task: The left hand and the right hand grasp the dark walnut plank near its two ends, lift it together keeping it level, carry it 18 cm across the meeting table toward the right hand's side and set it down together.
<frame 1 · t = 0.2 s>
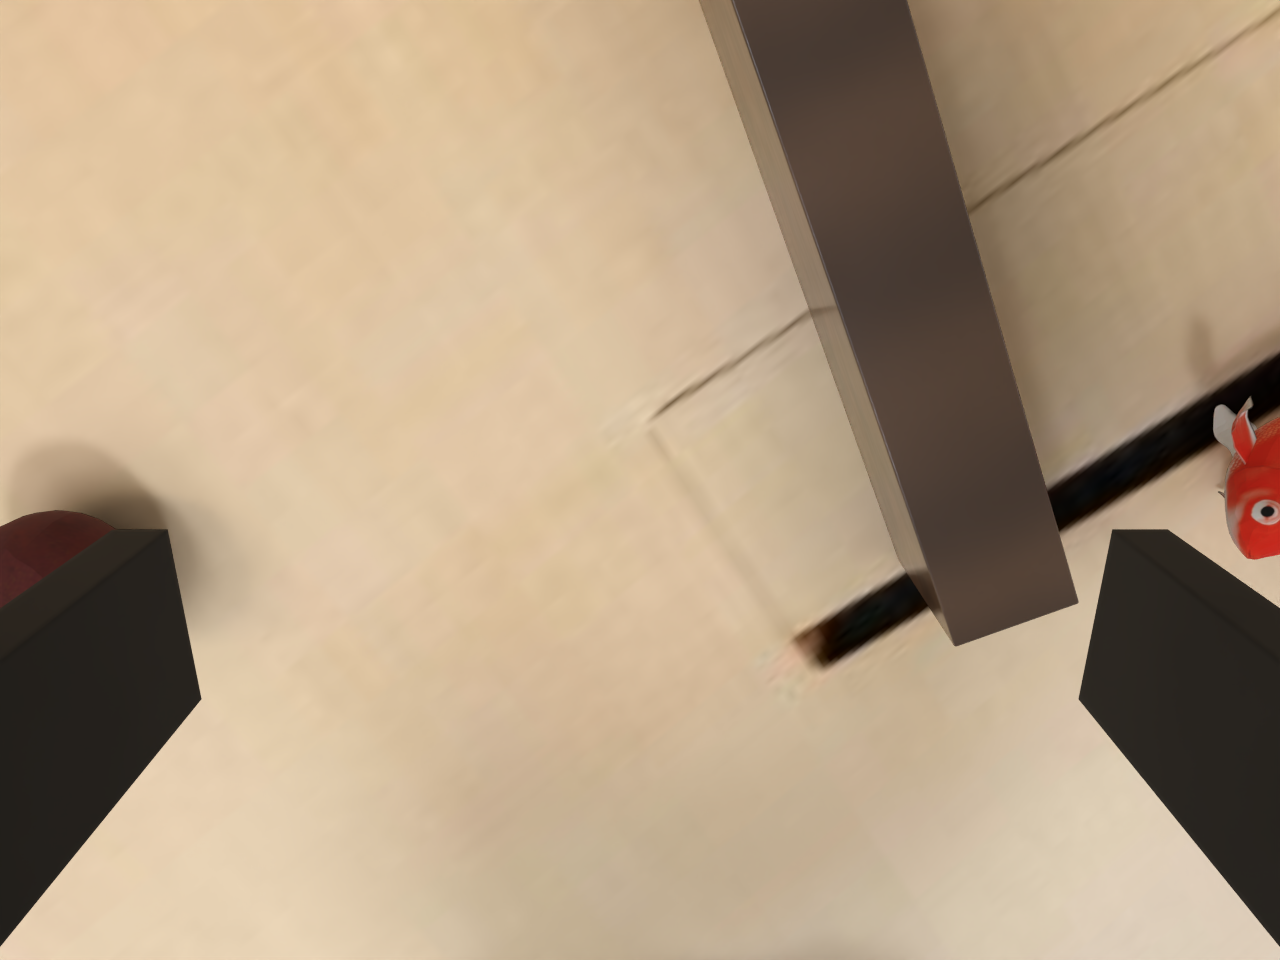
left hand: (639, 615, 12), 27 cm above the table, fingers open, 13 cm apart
plank: (849, 244, 37), on the table
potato: (106, 561, 42), on the table
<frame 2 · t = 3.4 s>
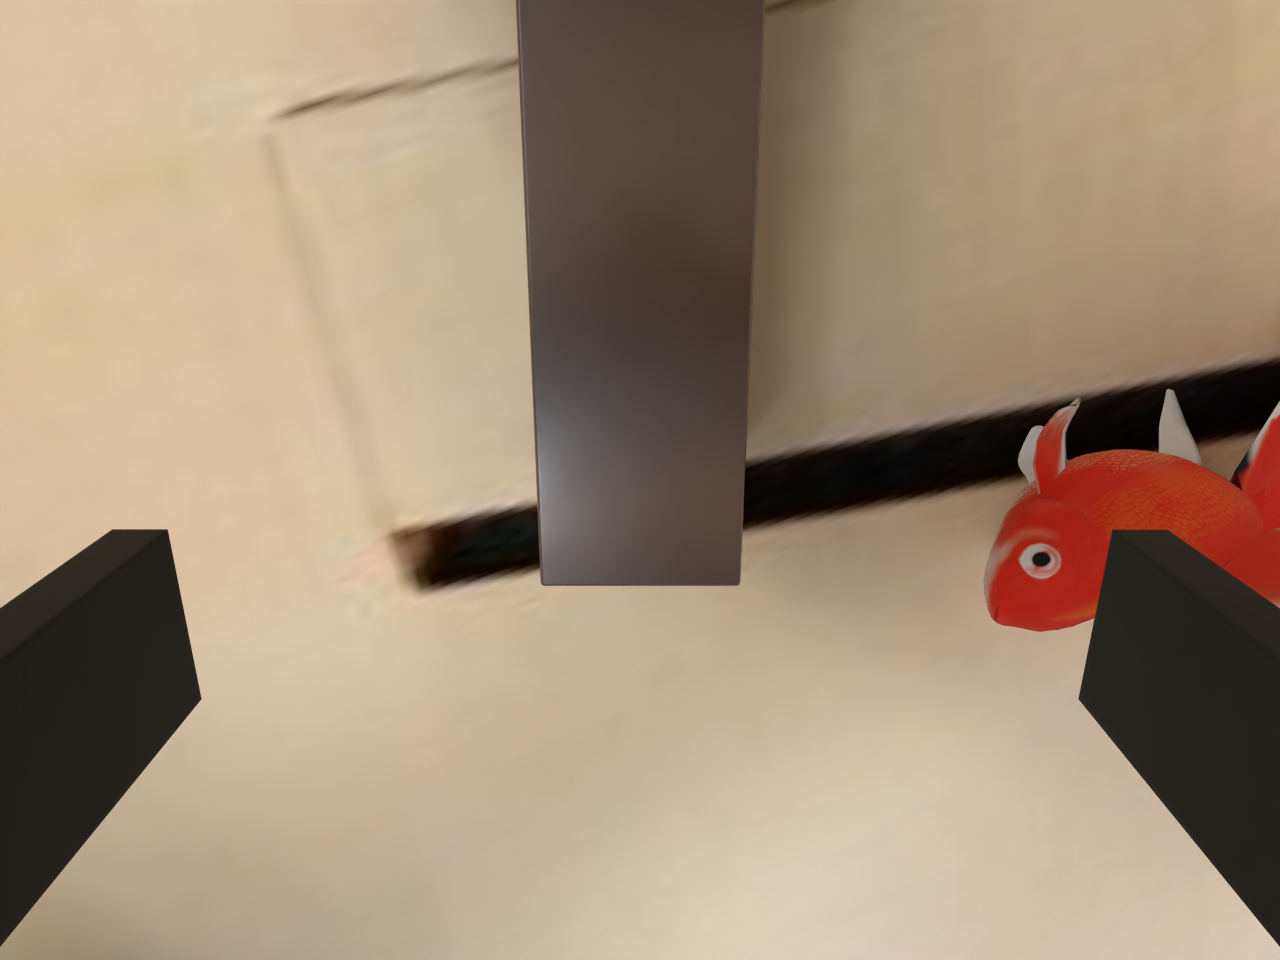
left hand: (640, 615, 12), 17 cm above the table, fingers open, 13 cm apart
fish: (1153, 432, 29), on the table
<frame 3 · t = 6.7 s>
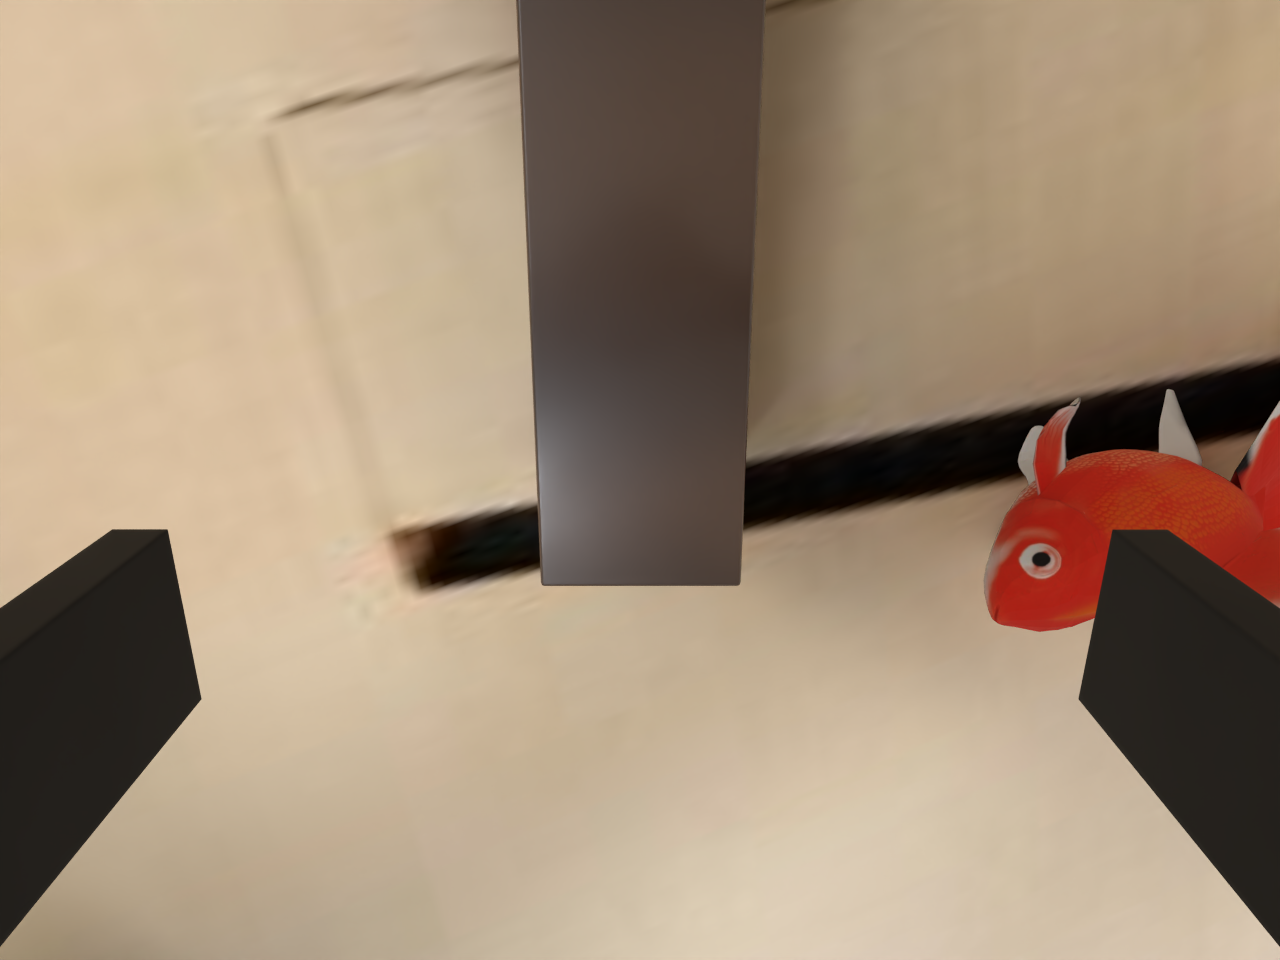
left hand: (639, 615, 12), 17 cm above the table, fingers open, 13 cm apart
fish: (1153, 432, 29), on the table
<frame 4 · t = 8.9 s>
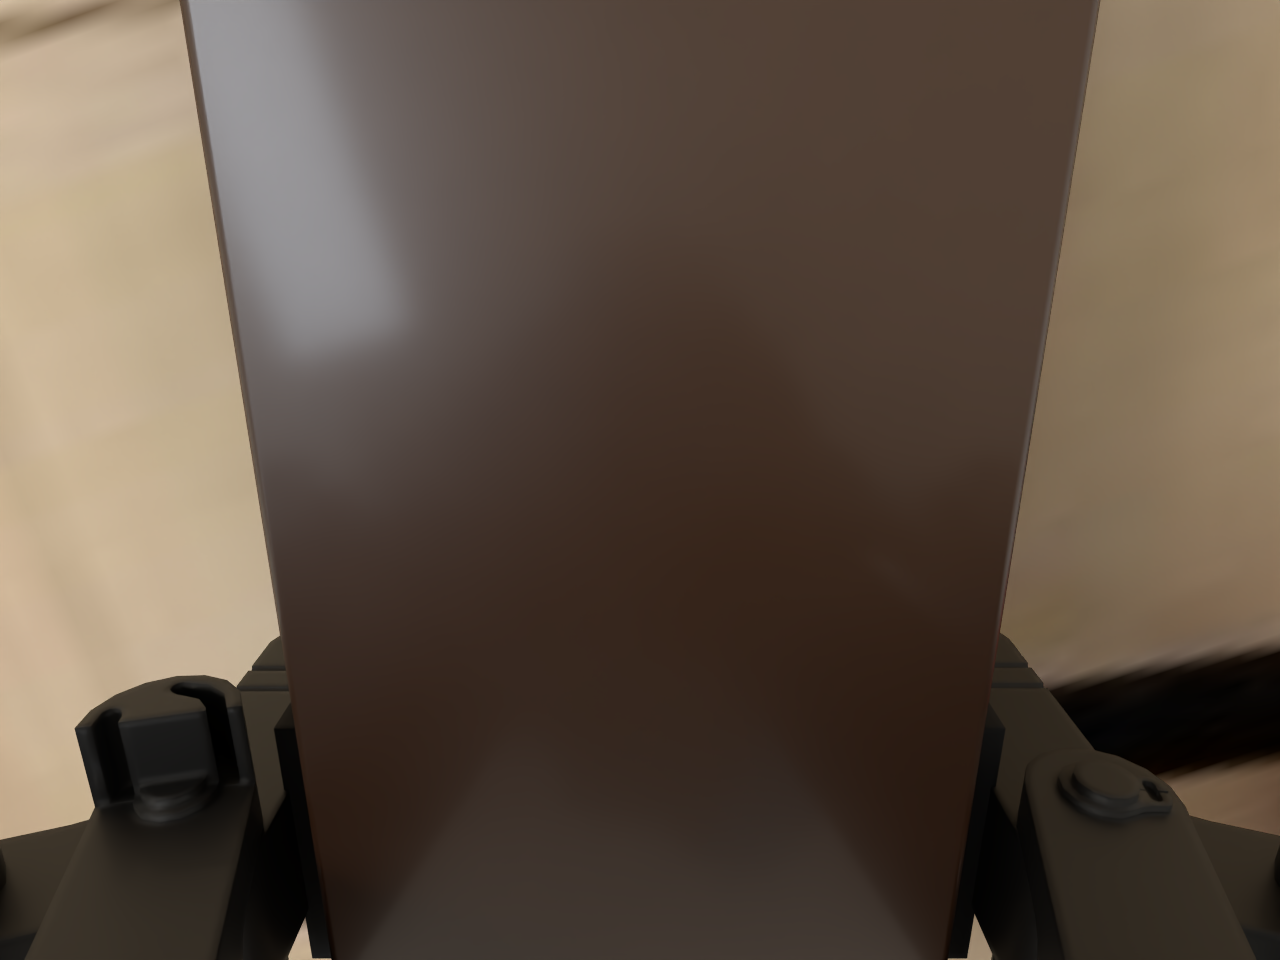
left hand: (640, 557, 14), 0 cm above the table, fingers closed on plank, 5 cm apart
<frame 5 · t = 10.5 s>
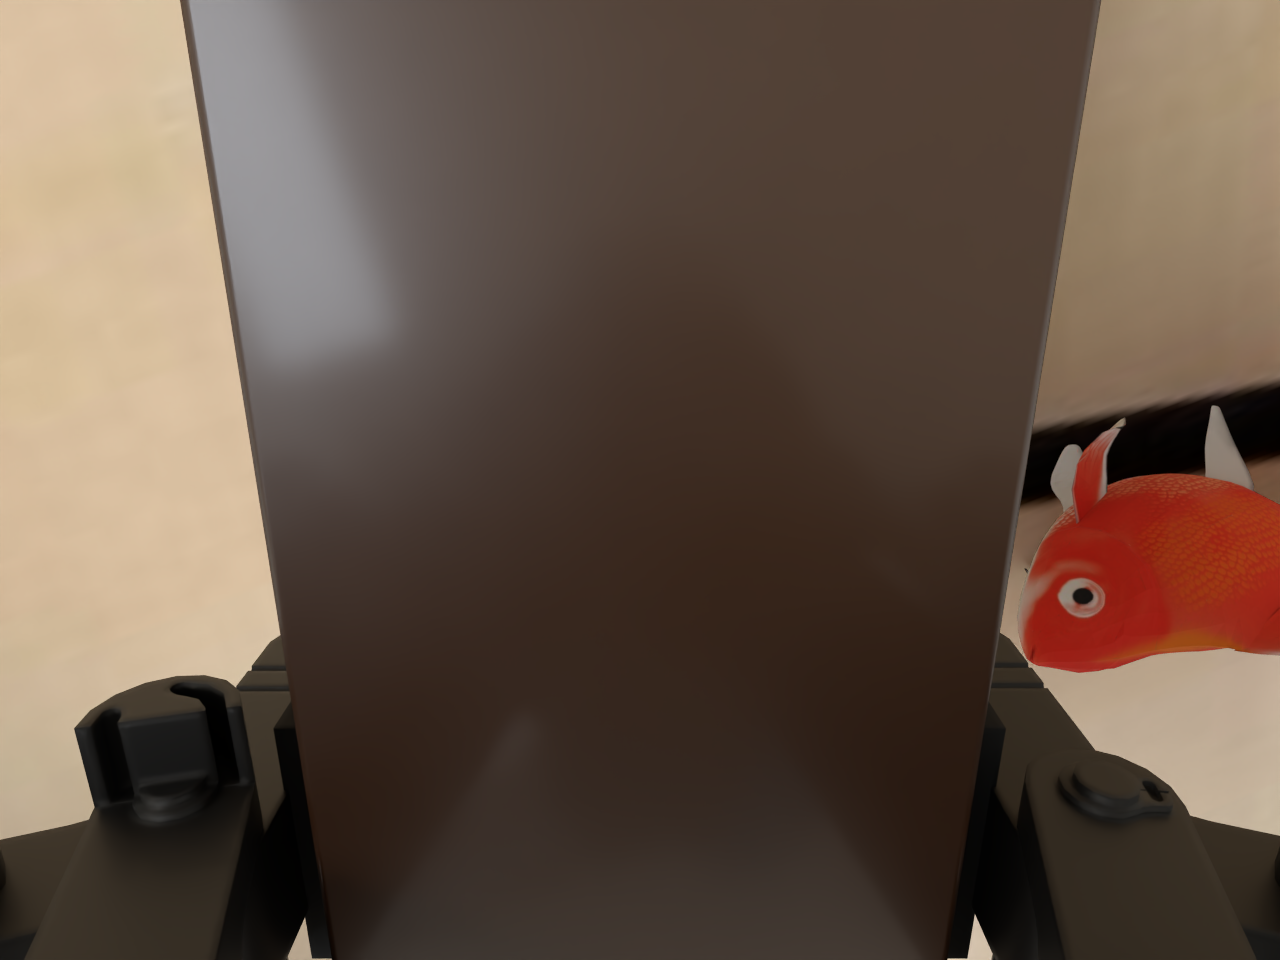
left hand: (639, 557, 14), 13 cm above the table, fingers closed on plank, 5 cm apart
fish: (1196, 451, 27), on the table
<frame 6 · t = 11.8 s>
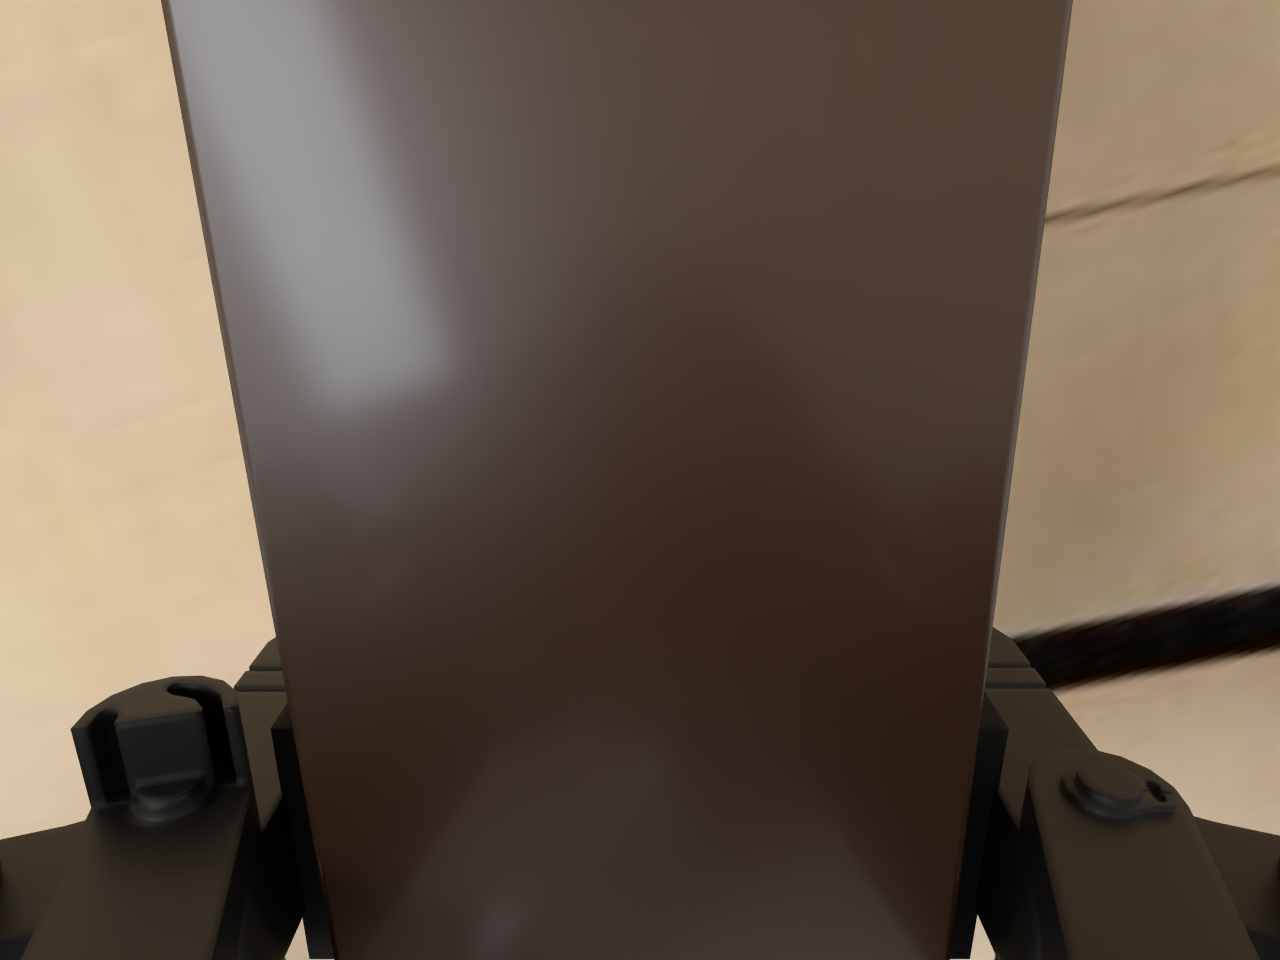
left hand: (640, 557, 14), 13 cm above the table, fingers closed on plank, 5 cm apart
when the left hand's fingers open (2 cm above the table, at t = 14.8 s): plank drops 1 cm, on the table.
when the right hand's fingers open (2 cm above the table, at t = 14.8 s): plank drops 1 cm, on the table.
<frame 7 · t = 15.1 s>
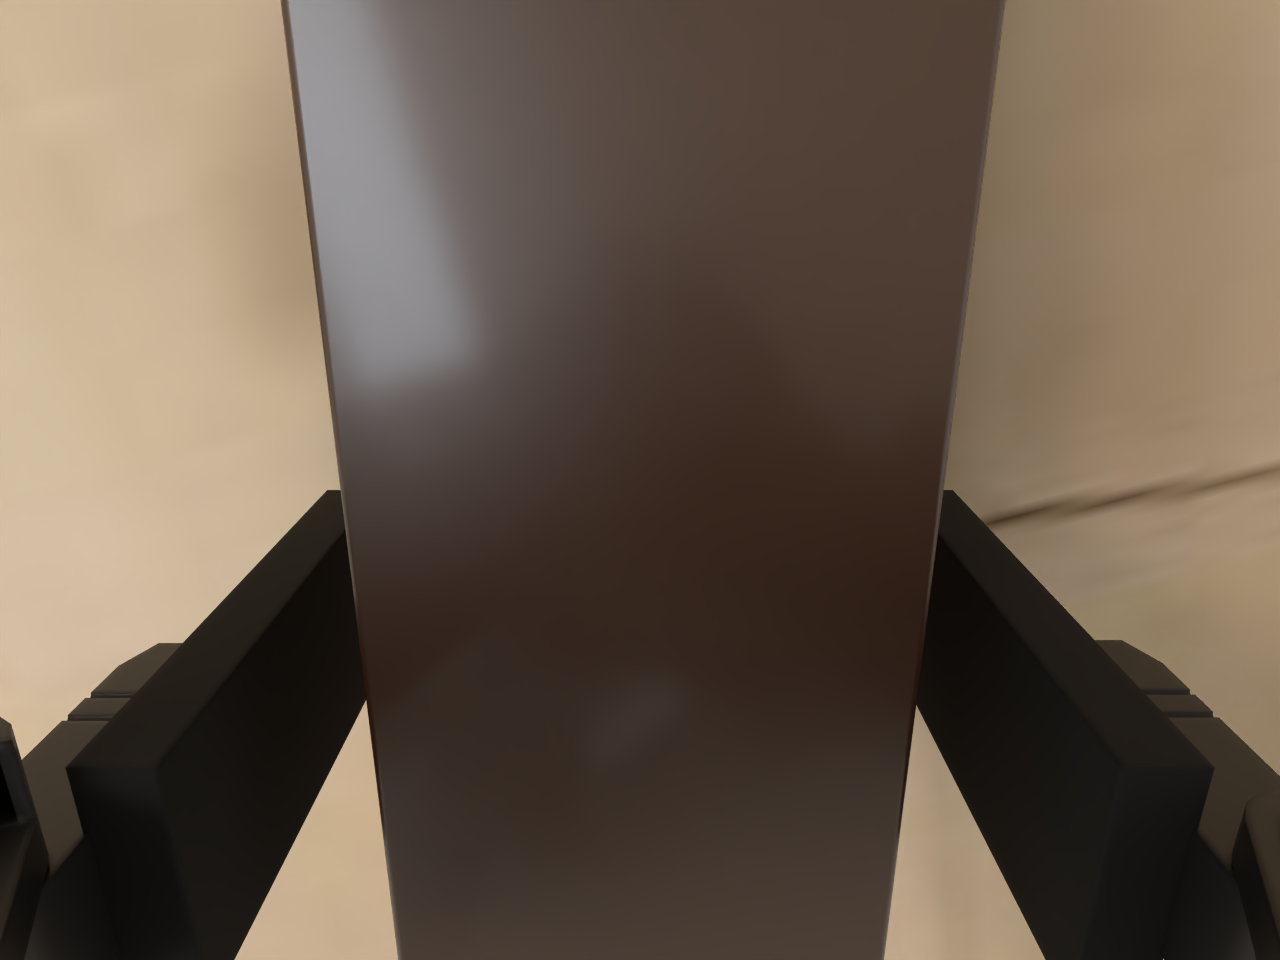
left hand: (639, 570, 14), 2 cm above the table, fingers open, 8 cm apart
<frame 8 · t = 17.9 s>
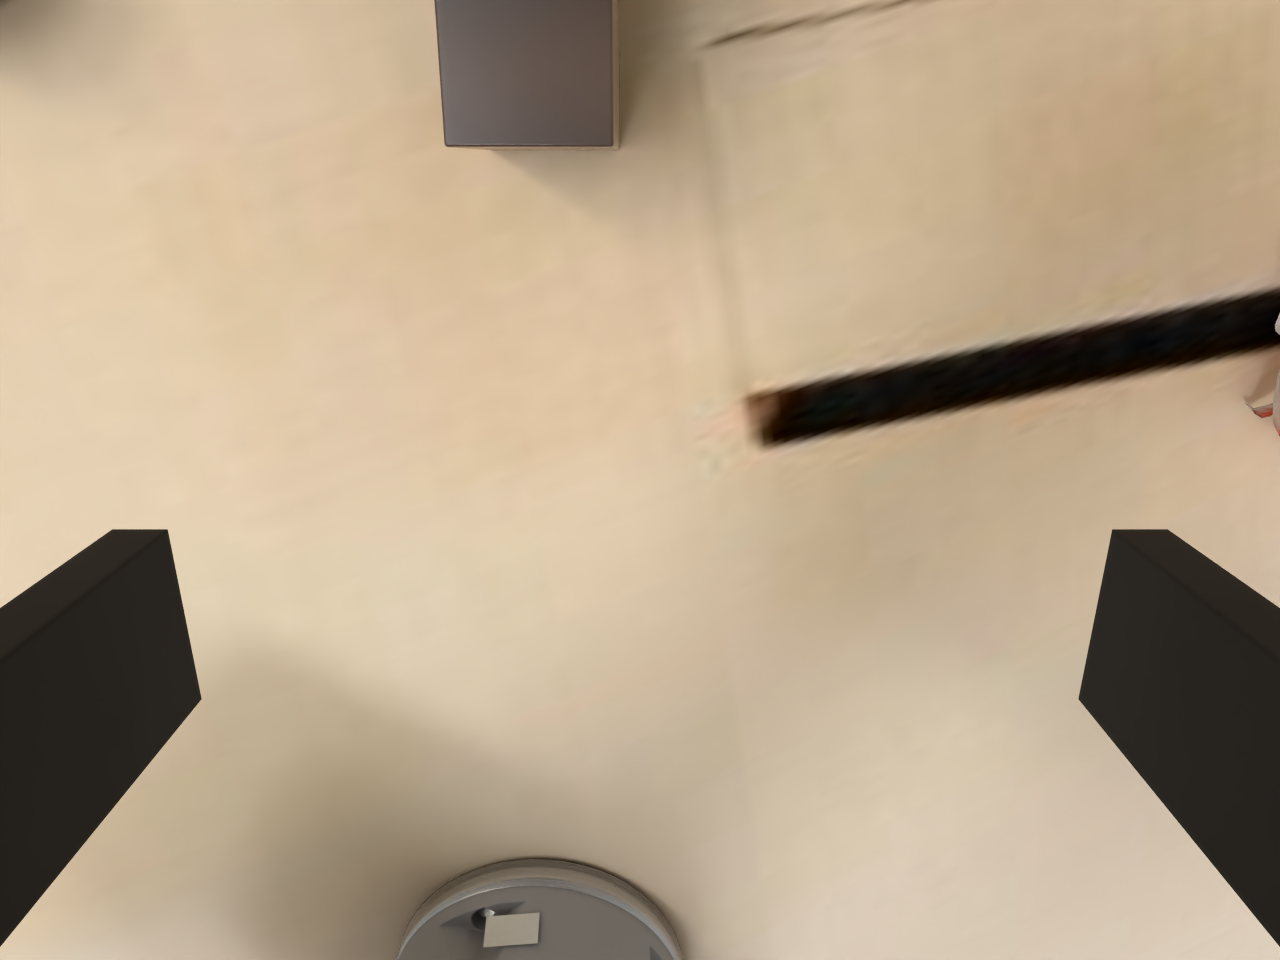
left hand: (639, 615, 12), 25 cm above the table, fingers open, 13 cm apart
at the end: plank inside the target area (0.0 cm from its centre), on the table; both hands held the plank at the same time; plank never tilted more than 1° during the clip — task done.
